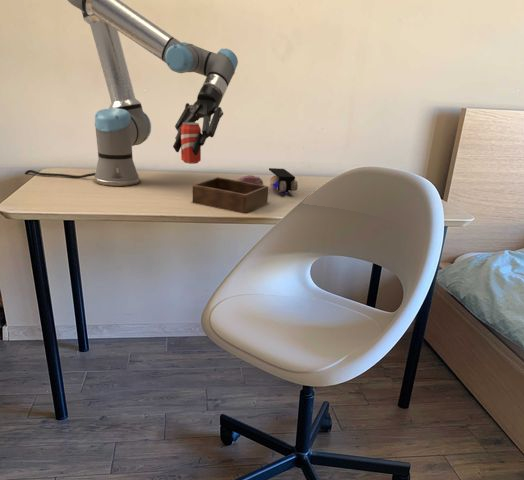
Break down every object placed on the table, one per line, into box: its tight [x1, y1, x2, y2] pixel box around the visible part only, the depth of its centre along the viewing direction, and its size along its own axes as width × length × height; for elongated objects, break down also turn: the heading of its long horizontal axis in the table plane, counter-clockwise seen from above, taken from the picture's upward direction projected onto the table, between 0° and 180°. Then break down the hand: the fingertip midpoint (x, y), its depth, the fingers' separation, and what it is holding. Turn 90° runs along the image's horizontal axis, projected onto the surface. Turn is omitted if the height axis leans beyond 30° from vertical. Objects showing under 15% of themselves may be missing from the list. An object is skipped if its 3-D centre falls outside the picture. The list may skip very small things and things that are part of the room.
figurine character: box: [268, 167, 299, 197], centre depth 184 cm, size 7×8×15 cm
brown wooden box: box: [191, 176, 269, 214], centre depth 167 cm, size 20×16×6 cm
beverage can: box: [180, 122, 202, 165], centre depth 166 cm, size 6×6×12 cm
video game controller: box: [236, 174, 264, 185], centre depth 182 cm, size 10×5×7 cm, turn 105°
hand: (184, 150), depth 164 cm, fingers closed on beverage can, 6 cm apart
